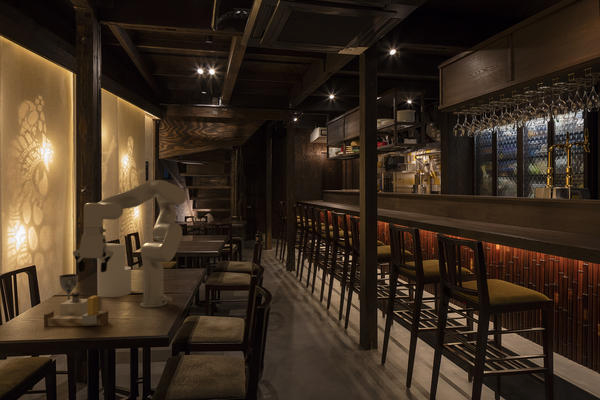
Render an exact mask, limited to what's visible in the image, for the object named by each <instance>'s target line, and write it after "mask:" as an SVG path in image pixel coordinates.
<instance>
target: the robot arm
mask: <svg viewBox="0 0 600 400" xmlns="http://www.w3.org/2000/svg"><path fill="white" fill-rule="evenodd" d="M155 198H156V201H157V204H158V206H159V214H158V217H157V219H156V221H155V223H154V226H153V229H152V231H151V236H152V238H153V240H157V241H147V242H145V243H144V244H143V245H142V246H141V249H140V256H141V261H142V271H143V273H142V276H143V277H142V278H143V279H142V280H143V281H142V286H143V294H142V295H143V298H142V300H143V301H141V302H140V303H139V306H140V307H141V308H145V309H146V308H147V309H148V308H149V309H151V308H152V309H153V308H160V307H163V306H166V305H167V303H168V302H172V301H173V297H171V296H166V294H165V293H164V267H163V264H162V263H167V262H170V261H172V260H173V258H174V257H175V255H176V253H177V250H178V248H179V246H180V243H181V239H182V238H183V228H182V226H181V225H180V224H179V223H177V222H176V219H177V211H176V208H175V206H176V205H178V206H179V205H183V204H184V203H185V202H186V200H187V194H186V191H184V189H183V188H182V187H179V186H178V185H176V184H173V183H171V182H169V181H166V180H164V179H163V180H162V179H158V180H157V179H156V180H155V179H153V180H150V179H149V180H147V181H145V182H142V183H140V184H139V185H137V186H134V187H133V188H131V189H128V190H126V191H123V192H121V193H117V194H114V195H110V196H109V197H105V198H104V199H102V200H100V201H99V202H87V203H85V204H84V205H83V234H82V235H81V238H80V242H79V243H80V244H79V248H77V249H76V250H74V251H72V255H73V256H74V259H75V260H76V261H77V263H78V269H77V270H78V272H79V273H82V272H85V269H86V267H85V266H86V265H85V260H86V259H97V258H100V260H101V261H102V263H101V272H105V271H106V270H107V262H108V261H109V260H110V259H111V257H112V255H113V252H112V251H110V250H108V249H107V243H108V242H107V239H106V238H107V237H106V234H104V233H106V232H107V229H106V228H104V220H111V221H112V220H118V219H119V218H121V217H122V215H124V210H125V209H132V208H136V207H139V206H141V205H142V204H144V203H146V202H148V201H150V200H152V199H155ZM174 205H175V206H174ZM107 253H108V256H107ZM106 256H107V257H106Z"/></svg>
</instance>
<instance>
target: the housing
mask: <svg viewBox="0 0 600 400" xmlns="http://www.w3.org/2000/svg"><path fill="white" fill-rule="evenodd" d="M59 307H60V310H59V312H60V313H59V316H83V315H84V314H86V313H87V298H79V302H78V303H72V298H70V300H68V299H67V300H66V301H64V302H62V303H60V304H59Z"/></svg>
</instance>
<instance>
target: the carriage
mask: <svg viewBox="0 0 600 400" xmlns="http://www.w3.org/2000/svg"><path fill="white" fill-rule="evenodd" d="M99 298H100V296H98V295H91V296H90V297H87V298H86V299H87V313H86V314H84V315H83V316H82V324H98V317H100V314H101V313H103V312H104V311H105V310H104V311H103V310H99V309H100V305H99V304H100V299H99Z"/></svg>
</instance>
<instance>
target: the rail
mask: <svg viewBox="0 0 600 400" xmlns="http://www.w3.org/2000/svg"><path fill="white" fill-rule="evenodd" d="M107 323H109V310H104V312H103V313H101V314H100V317H98V324H82V316H60V315H55V311H54V310H51V311H48V312H47V313H44V315H43V327H76V326H77V327H81V326H83V327H85V326H86V327H87V326H88V327H90V326H93V327H94V326H97V327H98V326H99V327H103V326H105V325H106V324H107Z"/></svg>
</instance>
